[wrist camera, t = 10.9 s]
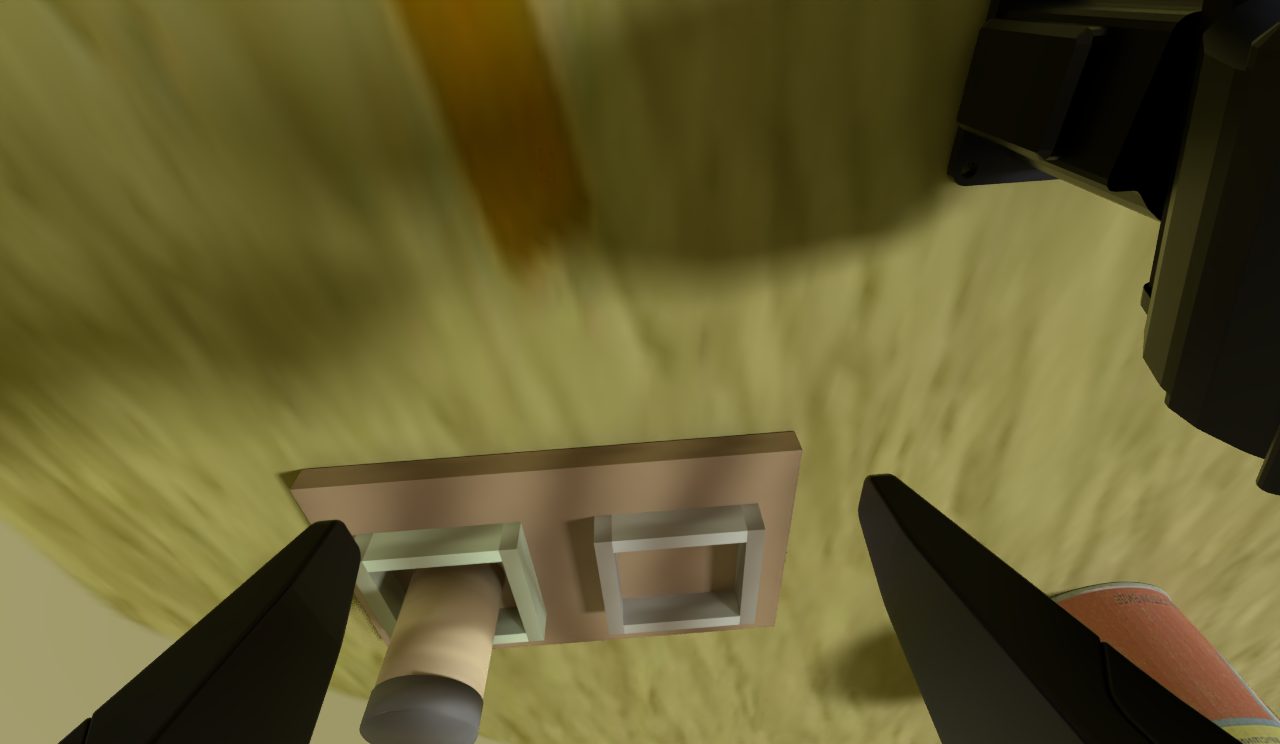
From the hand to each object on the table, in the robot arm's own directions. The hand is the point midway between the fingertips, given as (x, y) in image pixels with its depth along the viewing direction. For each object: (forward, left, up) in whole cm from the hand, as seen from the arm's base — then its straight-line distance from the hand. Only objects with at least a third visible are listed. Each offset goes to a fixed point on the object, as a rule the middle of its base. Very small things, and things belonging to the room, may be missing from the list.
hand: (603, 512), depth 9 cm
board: (+3, +16, -12) cm, 20 cm away
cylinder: (+9, +16, -11) cm, 21 cm away
